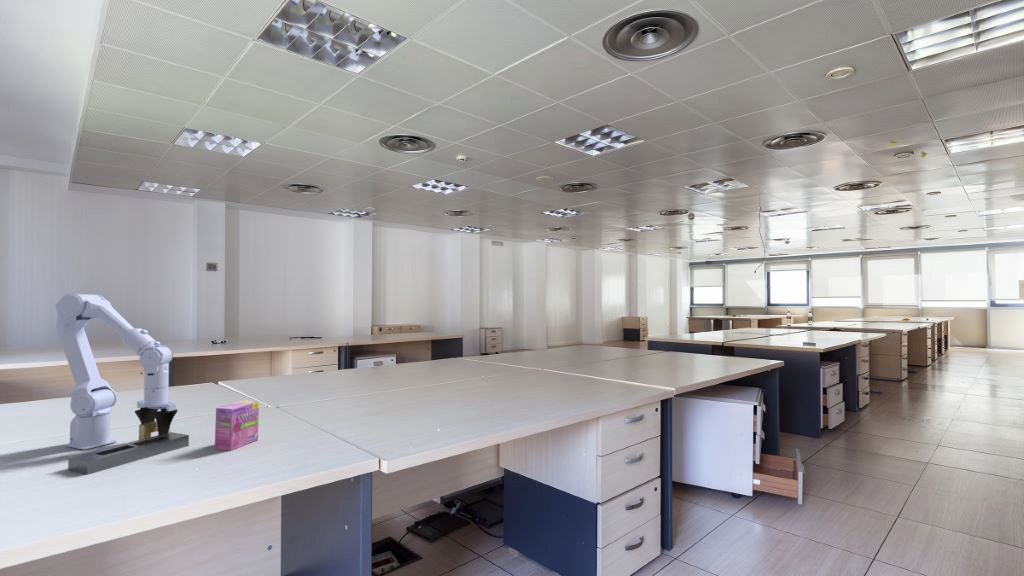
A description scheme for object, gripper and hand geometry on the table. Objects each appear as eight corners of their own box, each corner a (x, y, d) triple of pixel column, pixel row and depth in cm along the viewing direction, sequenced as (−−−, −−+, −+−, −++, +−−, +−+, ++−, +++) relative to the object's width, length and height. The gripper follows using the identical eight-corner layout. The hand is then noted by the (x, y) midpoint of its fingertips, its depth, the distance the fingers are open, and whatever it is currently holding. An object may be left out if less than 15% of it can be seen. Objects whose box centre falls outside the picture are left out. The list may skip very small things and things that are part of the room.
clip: (138, 445, 132) (139, 424, 132) (164, 438, 139) (164, 419, 139) (143, 446, 131) (144, 425, 132) (169, 439, 138) (170, 419, 138)
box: (231, 451, 128) (232, 408, 129) (214, 449, 129) (215, 407, 130) (258, 440, 138) (259, 400, 139) (242, 438, 140) (243, 399, 140)
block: (68, 469, 113) (68, 457, 113) (170, 442, 136) (170, 432, 136) (87, 474, 110) (87, 461, 110) (188, 445, 133) (188, 435, 133)
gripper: (125, 388, 134) (124, 434, 134) (157, 391, 129) (156, 439, 129) (151, 384, 141) (151, 428, 141) (183, 386, 136) (182, 433, 135)
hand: (155, 433), depth 135 cm, fingers open, 6 cm apart
